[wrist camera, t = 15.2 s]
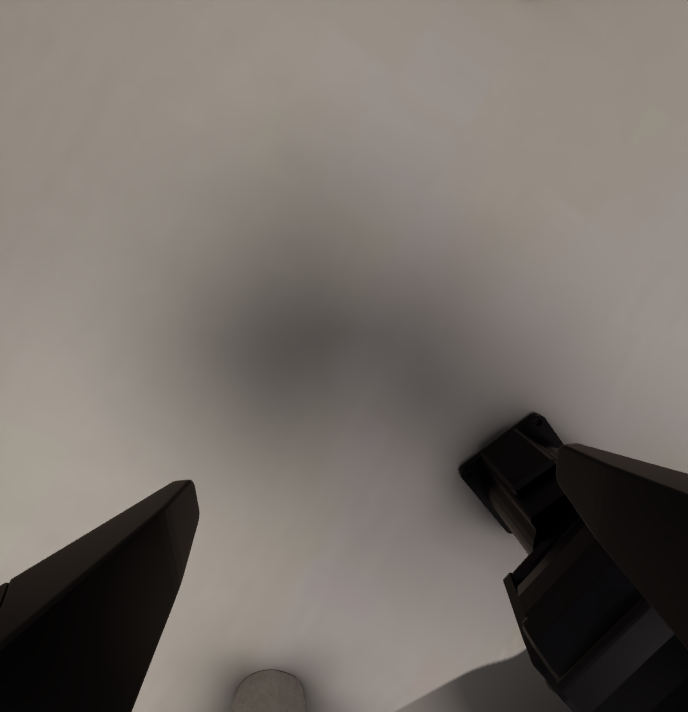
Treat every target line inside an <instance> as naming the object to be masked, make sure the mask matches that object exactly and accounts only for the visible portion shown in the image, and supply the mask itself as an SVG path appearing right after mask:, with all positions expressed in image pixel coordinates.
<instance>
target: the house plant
mask: <svg viewBox="0 0 688 712" xmlns="http://www.w3.org/2000/svg"><path fill="white" fill-rule="evenodd" d="M230 712H306V711H305V701H304V691H303V687H302V685H301V683H300V681H299V680H298V679H297V678H296V677H294V676H292V675H290V674H288V673H284V672H281V671H276V670H265V671H260V672H257V673H254V674H252V675H250V676H249V677H247V678H246V679H245V680H244V681H243V682H242V683H241V684H240V686H239V687H238V689H237V692H236V695H235V698H234V701H233V704H232V707H231V710H230Z"/></svg>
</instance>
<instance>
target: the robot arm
mask: <svg viewBox="0 0 688 712" xmlns="http://www.w3.org/2000/svg"><path fill="white" fill-rule="evenodd" d="M537 419H538V422H537V423H535V421H536V420H537ZM534 423H535V424H534ZM468 470H470V472H469V473H467V474H465V472H466V471H468ZM459 474H460V476H461V477H462V479H463V480H464V481H465V482H466V483H467V485H468V486H469V487H470V488H471V489H472V491H473V492H474V493H475V494H476V495H477V497H478V498H479V499H480V500H481V501H482V503H483V504H484V505H485V506H486V507H487V509H488V510H489V511H490V512H491V513H492V515H493V516H494V517H495V518H496V519H497V521H498V522H499V523H500V524H501V525H502V527H503V528H504V529H505V530H506V531H507V532H508V533H511V534H512V533H513V534H514V536H515V537H516V538H517V540H518V541H519V542H520V544H521V545H522V547H523V548H524V549H525V551H526V552H527V553H528V557H527V558H526V559H525V560H524V561H523V562H522V563H521V564H520V565H519V566H518V568H517V569H516V570H515V571H514V572H513V573H509V574H508V575H507V576H506V577H505V578H504V579H503V581H504V584H505V587H506V590H507V593H508V596H509V599H510V602H511V605H512V608H513V611H514V614H515V617H516V620H517V623H518V626H519V629H520V632H521V635H522V638H523V640H524V643H525V645H526V648H527V650H528V653H529V656H530V659H531V661H532V663H533V665H534V667H535V668H536V669H537V670H538V671H539V672H540V673H541V675H542V676H543V677H544V681H545V683H546V684H547V685H548V687H549V688H550V690H551V691H552V692H554V693H555V694H557V695H558V696H559V697H560V698H561V699H562V700H563V702H564V703H565V704H566V705H567V706H568V707H569V708H570V709H571V710H572V711H573V712H688V474H687V473H683V472H679V471H676V470H672V469H669V468H665V467H661V466H658V465H654V464H650V463H647V462H643V461H640V460H636V459H632V458H629V457H625V456H622V455H618V454H614V453H611V452H607V451H603V450H600V449H596V448H593V447H589V446H585V445H582V444H565V445H564V444H563V443H562V441H561V440H560V439H559V437H558V436H557V434H556V433H555V432H554V430H553V429H552V427H551V426H550V425H549V423H548V422H547V420H546V419H545V418H544V417H543V416H542V415H540V414H538V413H533V414H531V415H530V416H528V417H527V418H525V419H524V420H523V421H521V422H520V423H519V424H517V425H516V426H515V427H513V428H512V429H510V430H509V431H507V432H506V433H505V434H503V435H502V436H501V437H499V438H498V439H497V440H495V441H494V442H493V443H491V444H490V445H488V446H487V447H486V448H484V449H483V450H482V451H481V452H479V453H478V454H477V455H475V456H474V457H473V458H471V459H470V460H468V461H467V462H466V463H464V464H463V465H462V466H461V467H460V468H459ZM198 521H199V506H198V501H197V495H196V490H195V485H194V483H193V481H192V480H180V481H174V482H172V483H170V484H168V485H167V486H165V487H163V488H162V489H160V490H158V491H157V492H155V493H153V494H152V495H150V496H149V497H147V498H145V499H144V500H142V501H140V502H139V503H137V504H135V505H134V506H132V507H130V508H129V509H127V510H125V511H124V512H122V513H120V514H119V515H117V516H115V517H114V518H112V519H110V520H109V521H107V522H105V523H104V524H102V525H100V526H99V527H97V528H95V529H94V530H92V531H90V532H89V533H87V534H86V535H84V536H82V537H81V538H79V539H77V540H76V541H74V542H72V543H71V544H69V545H67V546H66V547H64V548H62V549H61V550H59V551H57V552H56V553H54V554H52V555H51V556H49V557H47V558H46V559H44V560H42V561H41V562H39V563H37V564H36V565H34V566H32V567H31V568H29V569H27V570H26V571H24V572H23V573H21V574H19V575H18V576H16V577H14V578H13V579H11V580H10V582H9V583H4V584H2V585H1V586H0V712H132V709H133V707H134V704H135V702H136V699H137V696H138V694H139V691H140V689H141V686H142V684H143V681H144V678H145V676H146V673H147V671H148V668H149V666H150V663H151V660H152V658H153V655H154V653H155V650H156V648H157V645H158V642H159V640H160V637H161V635H162V632H163V630H164V627H165V624H166V622H167V619H168V617H169V614H170V612H171V609H172V607H173V604H174V601H175V599H176V596H177V593H178V591H179V588H180V585H181V582H182V579H183V575H184V572H185V568H186V565H187V561H188V557H189V554H190V550H191V546H192V543H193V539H194V536H195V532H196V528H197V525H198Z"/></svg>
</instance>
